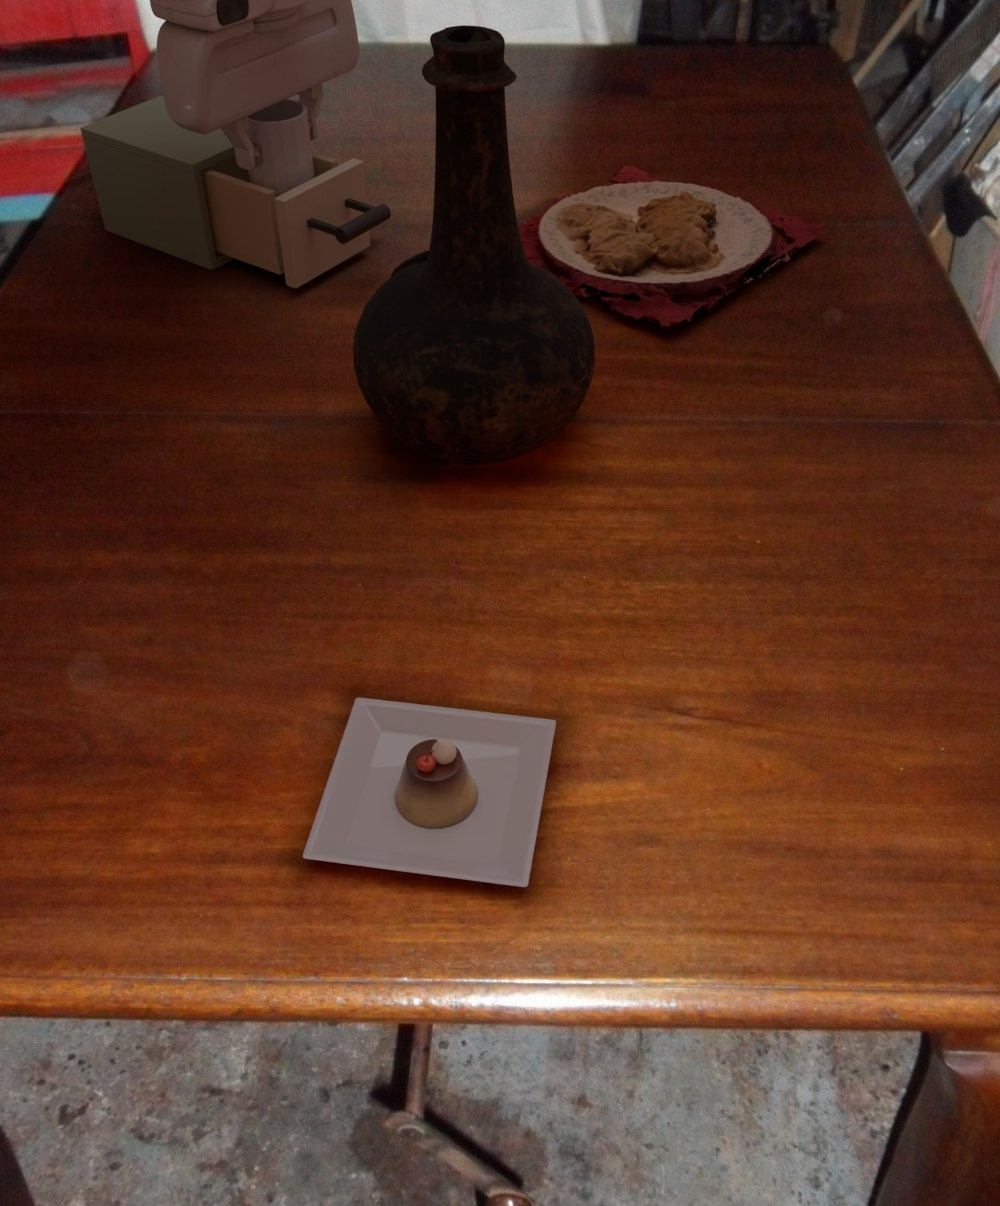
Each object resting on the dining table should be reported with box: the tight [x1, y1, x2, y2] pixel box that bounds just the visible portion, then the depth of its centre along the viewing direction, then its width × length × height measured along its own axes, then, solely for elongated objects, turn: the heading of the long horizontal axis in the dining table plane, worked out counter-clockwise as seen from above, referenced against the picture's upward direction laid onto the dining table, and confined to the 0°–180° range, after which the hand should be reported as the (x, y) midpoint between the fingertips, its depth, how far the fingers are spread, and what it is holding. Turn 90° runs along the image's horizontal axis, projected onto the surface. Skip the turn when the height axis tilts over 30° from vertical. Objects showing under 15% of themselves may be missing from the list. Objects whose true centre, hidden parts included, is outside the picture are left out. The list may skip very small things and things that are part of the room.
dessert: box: [302, 697, 557, 888], centre depth 65 cm, size 12×12×5 cm
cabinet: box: [80, 94, 236, 271], centre depth 113 cm, size 15×12×10 cm
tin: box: [244, 98, 315, 195], centre depth 104 cm, size 6×6×6 cm
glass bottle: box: [352, 25, 596, 466], centre depth 82 cm, size 18×18×28 cm
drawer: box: [201, 151, 392, 289], centre depth 108 cm, size 18×10×8 cm, turn 55°
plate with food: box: [518, 165, 827, 328], centre depth 112 cm, size 24×26×4 cm
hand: (278, 153), depth 104 cm, fingers closed on tin, 6 cm apart
